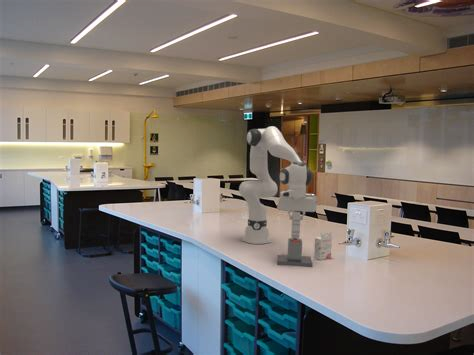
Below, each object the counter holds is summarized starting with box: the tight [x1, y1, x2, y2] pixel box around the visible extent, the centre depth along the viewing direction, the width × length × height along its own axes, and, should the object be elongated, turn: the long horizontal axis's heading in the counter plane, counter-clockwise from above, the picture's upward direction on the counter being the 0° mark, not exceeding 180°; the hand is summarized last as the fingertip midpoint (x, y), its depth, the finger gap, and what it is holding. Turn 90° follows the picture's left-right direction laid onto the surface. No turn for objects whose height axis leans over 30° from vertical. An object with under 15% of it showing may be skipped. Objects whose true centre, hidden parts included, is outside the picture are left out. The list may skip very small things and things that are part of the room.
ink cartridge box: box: [313, 231, 333, 261], centre depth 235 cm, size 9×5×15 cm, turn 123°
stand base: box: [276, 237, 313, 268], centre depth 225 cm, size 13×18×13 cm
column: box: [290, 211, 301, 241], centre depth 224 cm, size 4×4×18 cm
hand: (296, 219), depth 224 cm, fingers closed on column, 4 cm apart
